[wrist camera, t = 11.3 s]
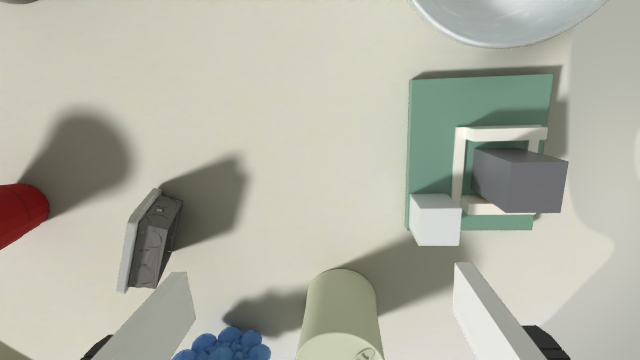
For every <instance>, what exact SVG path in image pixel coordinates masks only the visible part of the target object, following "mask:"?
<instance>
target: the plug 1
mask: <svg viewBox="0 0 640 360" xmlns="http://www.w3.org/2000/svg"><path fill="white" fill-rule="evenodd" d="M461 214H462V208H461V207H460V206H459V205H458V204H457V203H456V202H455V201H454V200H452V199H451V198H450V197H449V196H448V195H447V194H410V212H409V228H410V230H411V232H412V234H413V236H414V238H415V240H416V242H417V244H418V246H459V240H460V227H461Z"/></svg>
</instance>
